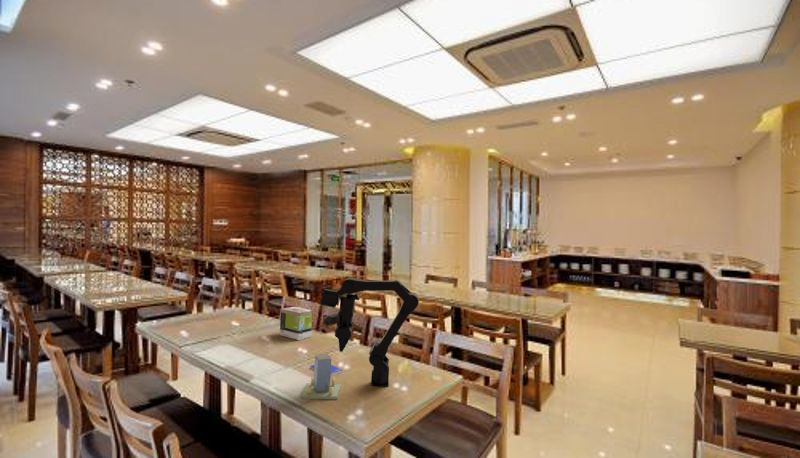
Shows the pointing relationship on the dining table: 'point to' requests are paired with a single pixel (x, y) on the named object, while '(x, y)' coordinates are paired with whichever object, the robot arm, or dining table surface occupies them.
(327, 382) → the block
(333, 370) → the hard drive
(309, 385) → the chassis
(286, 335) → the tea box
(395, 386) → the dining table surface
